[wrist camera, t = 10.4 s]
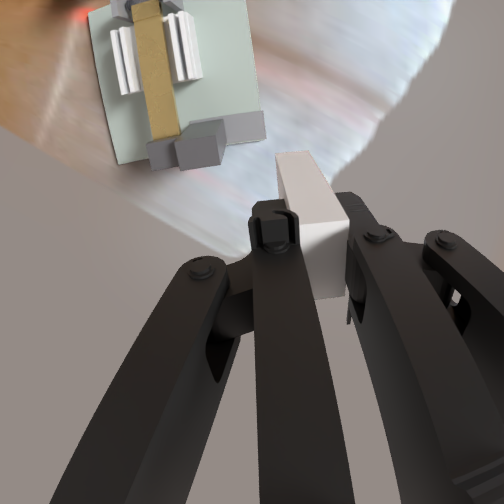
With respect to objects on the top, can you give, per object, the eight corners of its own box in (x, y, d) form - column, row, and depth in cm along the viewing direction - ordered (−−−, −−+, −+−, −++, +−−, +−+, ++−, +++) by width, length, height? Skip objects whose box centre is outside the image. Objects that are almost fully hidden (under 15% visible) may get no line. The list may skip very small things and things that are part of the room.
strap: (130, 1, 25) (125, -1, 24) (164, -9, 25) (161, -12, 24) (155, 155, 34) (151, 158, 33) (189, 148, 34) (187, 151, 33)
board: (91, 13, 29) (58, 7, 22) (243, -25, 28) (242, -46, 21) (121, 162, 41) (96, 185, 34) (266, 138, 40) (270, 156, 32)
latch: (163, 129, 37) (140, 148, 29) (223, 118, 37) (215, 135, 29) (168, 151, 39) (147, 177, 31) (226, 141, 38) (220, 164, 30)
